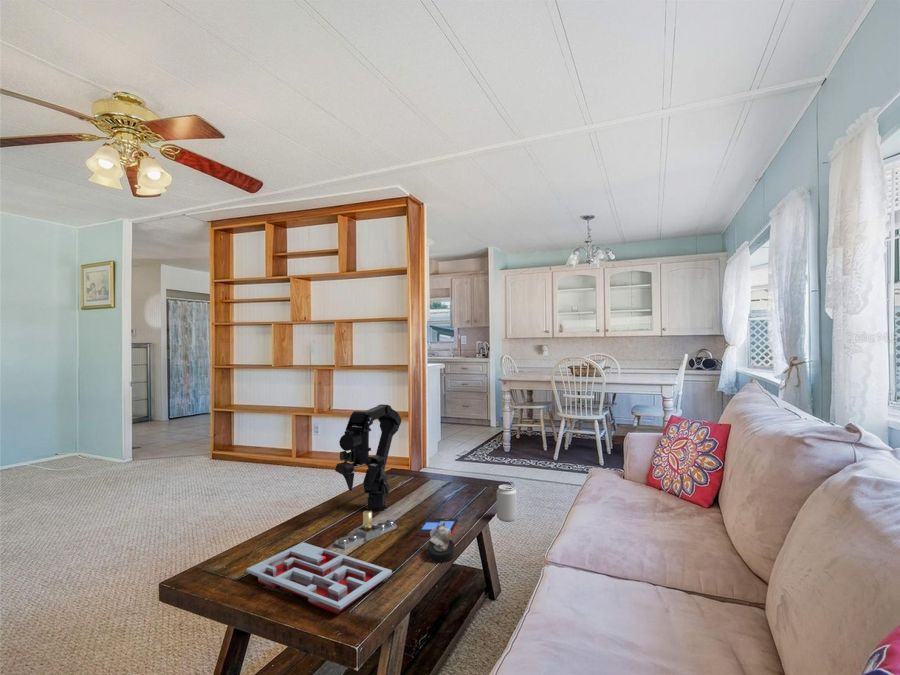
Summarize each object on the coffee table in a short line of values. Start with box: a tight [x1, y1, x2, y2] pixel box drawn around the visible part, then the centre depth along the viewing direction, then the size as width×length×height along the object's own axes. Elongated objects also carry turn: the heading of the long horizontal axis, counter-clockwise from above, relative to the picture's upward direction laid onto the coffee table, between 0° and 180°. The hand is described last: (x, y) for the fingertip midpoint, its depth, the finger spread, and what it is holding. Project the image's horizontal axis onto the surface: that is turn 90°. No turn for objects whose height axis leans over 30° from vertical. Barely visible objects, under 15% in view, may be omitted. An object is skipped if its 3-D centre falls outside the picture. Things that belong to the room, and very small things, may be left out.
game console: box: [414, 517, 459, 538], centre depth 155 cm, size 14×13×2 cm
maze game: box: [245, 542, 393, 615], centre depth 121 cm, size 35×20×3 cm, turn 60°
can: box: [496, 484, 518, 523], centre depth 165 cm, size 8×8×12 cm
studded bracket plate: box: [335, 519, 398, 550], centre depth 149 cm, size 23×6×2 cm, turn 139°
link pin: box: [362, 509, 373, 532], centre depth 150 cm, size 3×3×8 cm
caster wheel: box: [427, 522, 456, 563], centre depth 136 cm, size 7×11×10 cm
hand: (360, 487), depth 164 cm, fingers open, 9 cm apart
